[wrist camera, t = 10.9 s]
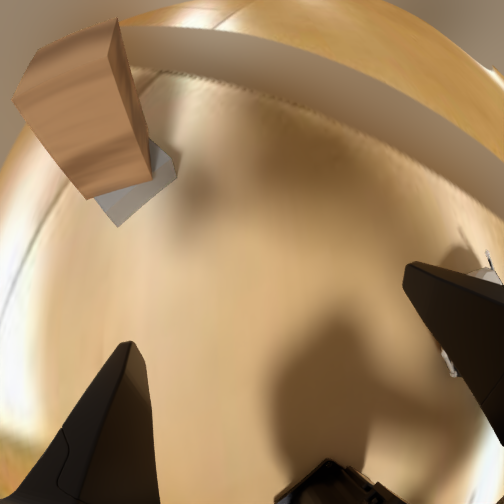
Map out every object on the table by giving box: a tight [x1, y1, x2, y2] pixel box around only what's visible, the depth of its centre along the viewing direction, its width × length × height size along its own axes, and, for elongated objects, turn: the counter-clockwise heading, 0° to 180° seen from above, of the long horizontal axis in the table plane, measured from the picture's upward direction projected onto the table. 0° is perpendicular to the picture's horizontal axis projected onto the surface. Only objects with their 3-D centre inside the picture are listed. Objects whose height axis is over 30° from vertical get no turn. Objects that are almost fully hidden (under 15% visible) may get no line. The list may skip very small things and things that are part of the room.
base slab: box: [94, 138, 177, 227], centre depth 23 cm, size 7×7×3 cm
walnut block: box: [11, 17, 153, 200], centre depth 16 cm, size 6×6×12 cm
